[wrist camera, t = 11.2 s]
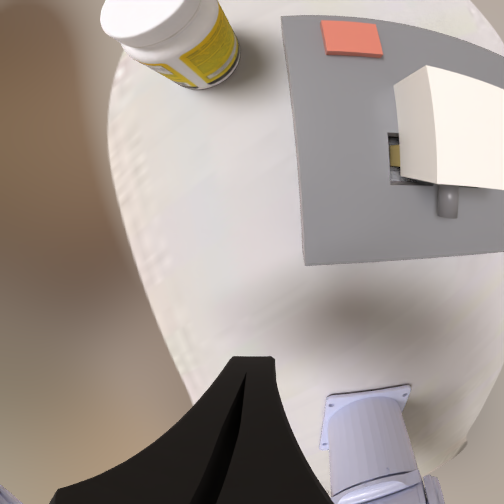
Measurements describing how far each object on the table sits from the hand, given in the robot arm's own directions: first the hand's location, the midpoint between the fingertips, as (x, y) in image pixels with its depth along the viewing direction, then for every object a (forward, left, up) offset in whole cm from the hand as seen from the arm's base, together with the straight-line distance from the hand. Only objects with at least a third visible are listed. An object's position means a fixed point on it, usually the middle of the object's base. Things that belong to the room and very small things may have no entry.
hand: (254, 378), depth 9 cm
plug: (+8, -10, -9) cm, 16 cm away
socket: (+8, -10, -10) cm, 16 cm away
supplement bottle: (+14, +3, -10) cm, 18 cm away
